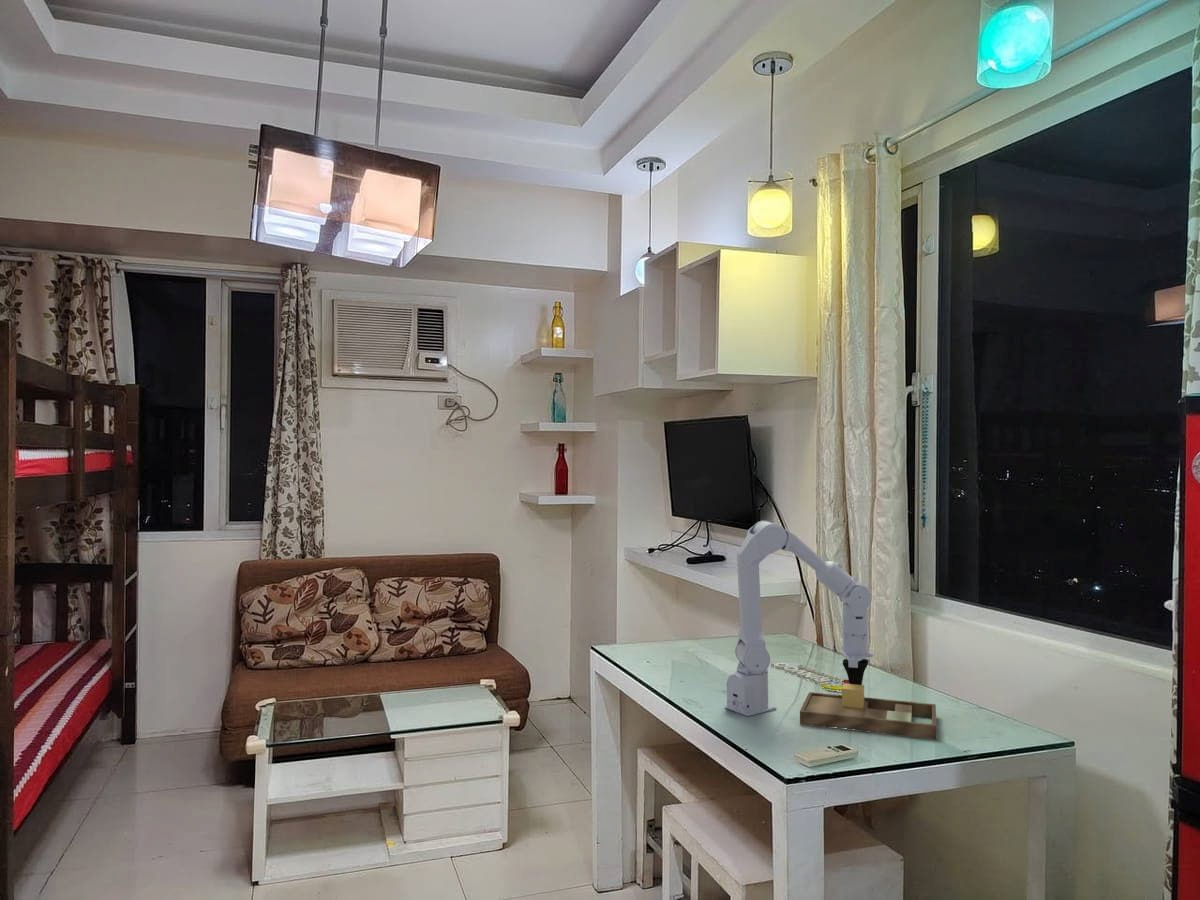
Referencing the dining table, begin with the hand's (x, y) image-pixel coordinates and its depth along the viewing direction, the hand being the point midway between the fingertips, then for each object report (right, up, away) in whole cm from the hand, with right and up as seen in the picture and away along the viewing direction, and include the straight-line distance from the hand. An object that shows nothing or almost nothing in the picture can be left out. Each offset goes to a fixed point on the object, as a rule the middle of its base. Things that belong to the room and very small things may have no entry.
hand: (855, 690), depth 195 cm
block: (-3, -1, -7) cm, 7 cm away
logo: (-3, -4, +25) cm, 25 cm away
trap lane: (-1, -3, -11) cm, 12 cm away
